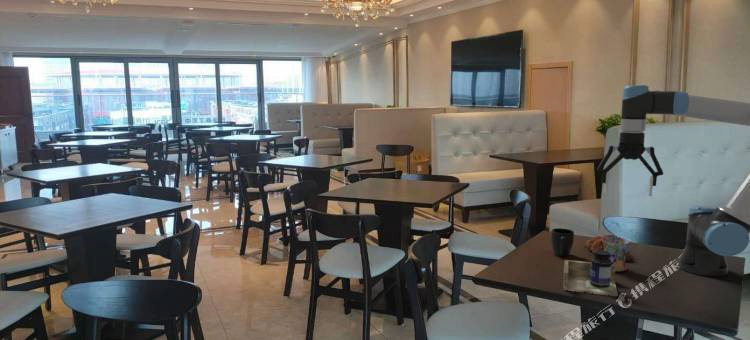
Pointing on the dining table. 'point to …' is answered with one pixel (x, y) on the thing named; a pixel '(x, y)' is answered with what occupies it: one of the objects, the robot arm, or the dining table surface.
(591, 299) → the dining table surface
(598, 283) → the pill bottle
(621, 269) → the mug
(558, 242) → the mug
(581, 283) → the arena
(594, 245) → the pastry
